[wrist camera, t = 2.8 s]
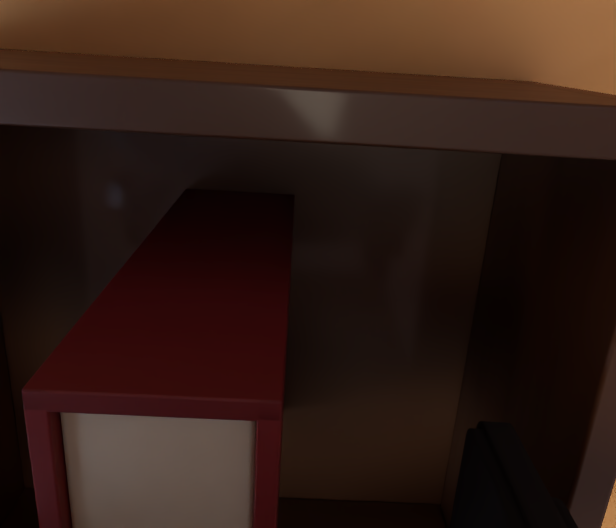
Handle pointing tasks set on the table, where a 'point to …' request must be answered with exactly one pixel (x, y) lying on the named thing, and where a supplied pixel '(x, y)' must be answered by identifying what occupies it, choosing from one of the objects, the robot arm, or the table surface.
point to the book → (173, 378)
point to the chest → (340, 261)
